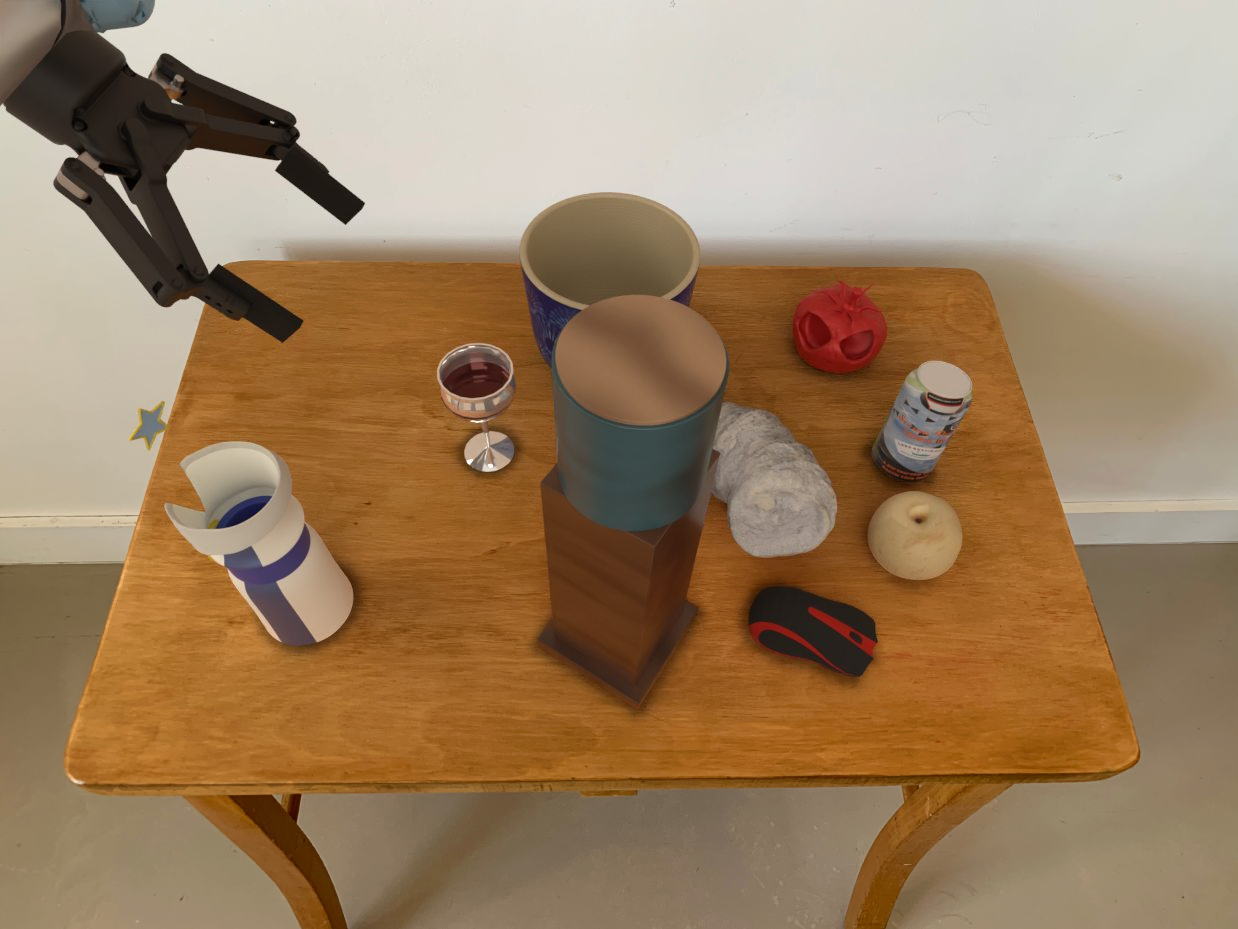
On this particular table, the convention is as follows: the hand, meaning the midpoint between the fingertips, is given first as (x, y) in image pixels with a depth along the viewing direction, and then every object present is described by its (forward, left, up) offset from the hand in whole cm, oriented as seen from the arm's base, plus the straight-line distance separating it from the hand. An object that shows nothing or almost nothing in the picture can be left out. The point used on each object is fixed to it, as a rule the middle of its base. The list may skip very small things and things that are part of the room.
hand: (326, 269), depth 62 cm
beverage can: (+26, -45, -22) cm, 56 cm away
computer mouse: (+4, -45, -22) cm, 50 cm away
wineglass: (+4, -10, -22) cm, 24 cm away
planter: (+21, -13, -22) cm, 33 cm away
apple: (+16, -49, -22) cm, 56 cm away
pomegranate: (+36, -33, -22) cm, 54 cm away
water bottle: (-18, -7, -22) cm, 29 cm away
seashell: (+13, -33, -22) cm, 42 cm away
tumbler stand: (-5, -31, -22) cm, 38 cm away
